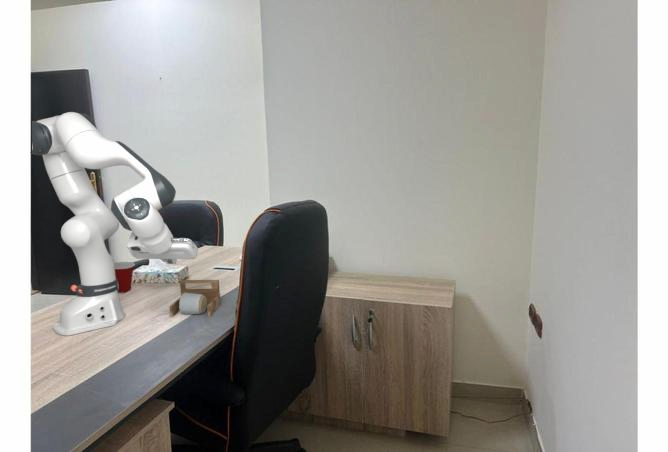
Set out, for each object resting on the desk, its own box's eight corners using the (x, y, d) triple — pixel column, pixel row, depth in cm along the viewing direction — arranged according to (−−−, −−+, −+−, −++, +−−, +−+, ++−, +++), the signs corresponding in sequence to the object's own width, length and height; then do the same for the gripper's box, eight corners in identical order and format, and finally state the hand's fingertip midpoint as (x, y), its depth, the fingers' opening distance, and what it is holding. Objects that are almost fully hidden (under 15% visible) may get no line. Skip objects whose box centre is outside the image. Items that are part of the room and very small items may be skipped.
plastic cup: (133, 293, 190) (130, 266, 188) (106, 295, 189) (103, 268, 187) (140, 286, 201) (138, 260, 199) (115, 287, 199) (112, 261, 197)
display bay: (210, 316, 162) (208, 290, 160) (170, 317, 162) (168, 290, 161) (220, 304, 174) (218, 279, 172) (183, 304, 175) (181, 280, 173)
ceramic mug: (201, 317, 162) (199, 296, 160) (179, 316, 162) (177, 296, 161) (211, 307, 172) (210, 287, 171) (191, 307, 173) (189, 287, 172)
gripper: (193, 230, 137) (205, 254, 149) (127, 230, 138) (144, 253, 150) (188, 248, 134) (201, 270, 145) (121, 247, 135) (139, 270, 146)
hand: (172, 262), depth 147 cm, fingers closed
